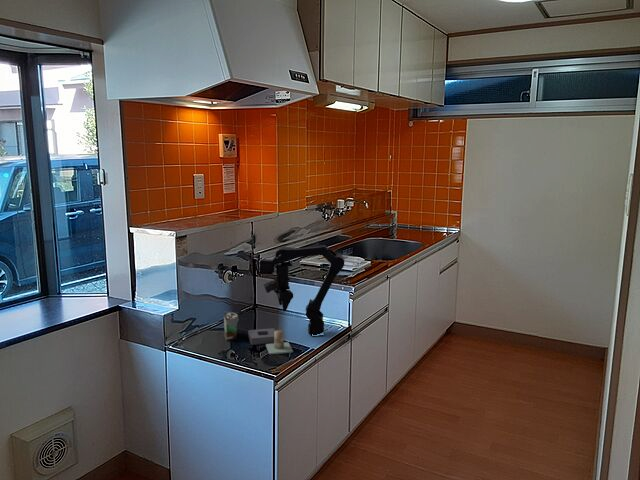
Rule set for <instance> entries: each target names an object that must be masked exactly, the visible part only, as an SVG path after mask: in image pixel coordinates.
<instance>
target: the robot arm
mask: <svg viewBox="0 0 640 480" xmlns="http://www.w3.org/2000/svg"><path fill="white" fill-rule="evenodd" d="M317 256H322V257H323V259H325V260H326V261H327V262H328V263H330V264H329V268H328V272H327V273H326V275H325V278H324V279H323V281H322V283H321V285H320V288H318V292H317V294H316V295H315V297H314V298H313V299H311V298H310V299H309V300H308V303H307V305H306V306H305V317H306V318H307V319H308V324H307V333H308V335H310V337H311V336H312V334H313V335H317V334H320V333H322V332H324V333H325V321H324V313H323V312H322V311H321V306H322V304H323V302H324V300H325V298H326V296H327V294H328V292H329V290H330V288H331V286H332V284H333V282H334V280H335V278H336V277H337V276H338V275H339V273H340V272H341V271H342V270H343V268H344V266H345V257H344V256H343V255H342V254H337V253H336V252H335V251H334V250H332V249H331V248H329V247H328V246H327V245H325V244H324V245H323V244H322V245H316V246H315V245H314V246H308V247H307V246H306V247H297V248H296V247H295V248H294V247H290V246H287V247H286V246H280V247H279V248H278V249H277V250H276V252H275V257H273V259H271V260H270V259H260V260H259V261H260V262H259V268H258V269H259V270H258V272H259V275H262V276H263V275H264V276H273V274H275V277H274V280H270V281H267V282H265V283H263V287H264V289H265V292H266V293H271V291H274V293H275V294H276V296H277V300H278V304H279V306H282V312H286V311H287V309H288V307H289V305H290V304H291V301H292V300H293V298H294V293H293V292H292V291H291V290H290V289H291V288H290V287H291V286H290V280H291V278H290V272H289V271H290V270H289V269H290V267H293V265H294V263H293V262H292V261H291V260H294V259H296V258H297V259H298V258H306V257H317Z"/></svg>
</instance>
